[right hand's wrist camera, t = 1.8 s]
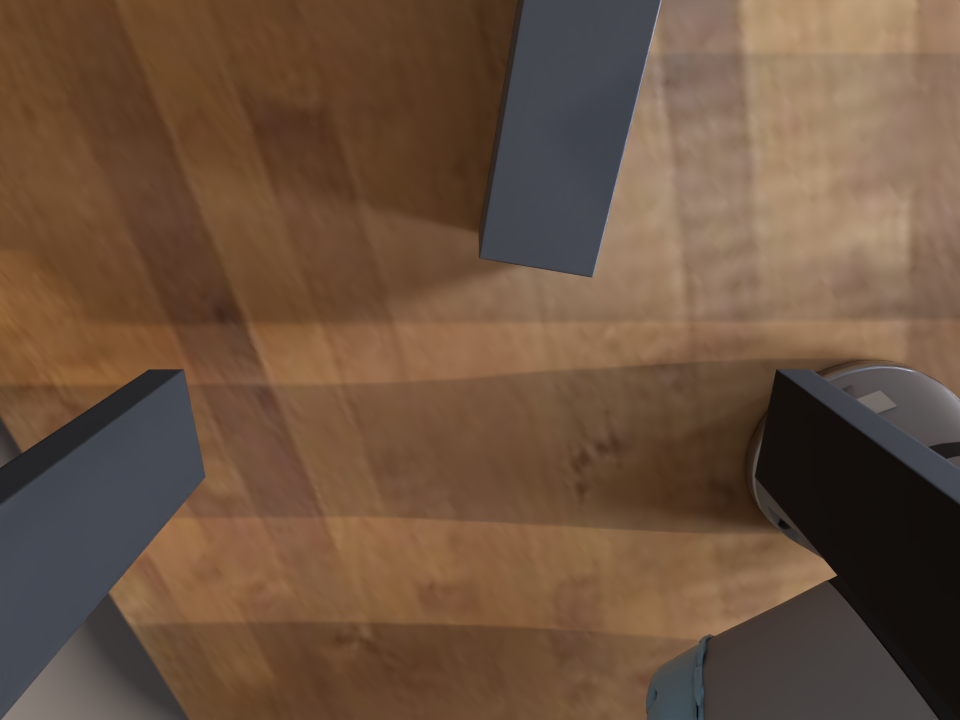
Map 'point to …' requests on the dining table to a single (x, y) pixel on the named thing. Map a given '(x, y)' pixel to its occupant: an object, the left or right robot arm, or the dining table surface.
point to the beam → (563, 130)
